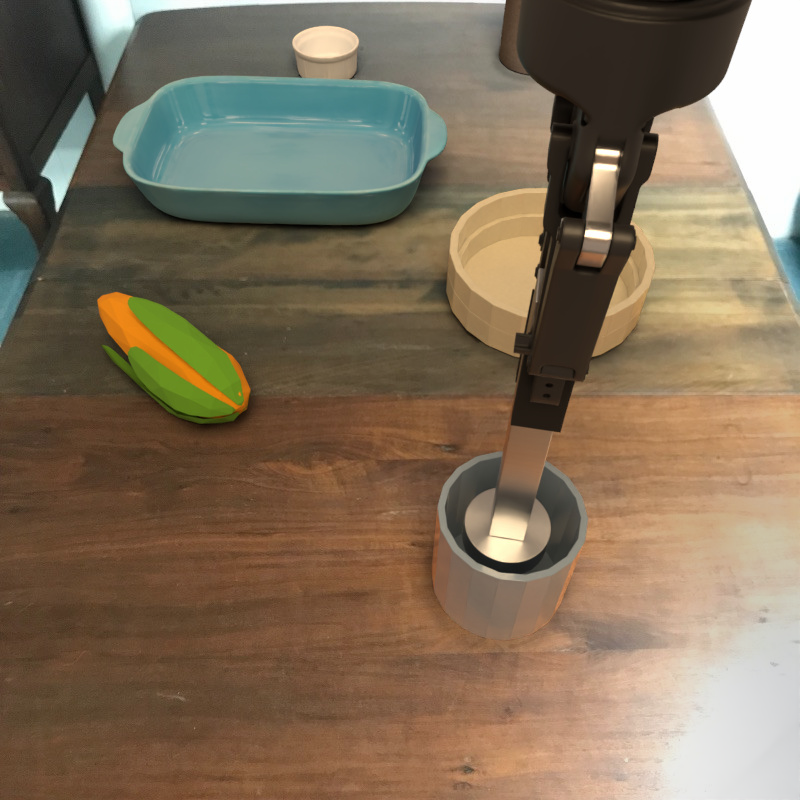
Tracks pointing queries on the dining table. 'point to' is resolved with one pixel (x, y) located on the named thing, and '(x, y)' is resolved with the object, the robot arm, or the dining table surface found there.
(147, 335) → the corn
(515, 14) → the pillar candle
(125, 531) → the dining table surface
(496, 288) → the bowl
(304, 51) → the ramekin
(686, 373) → the dining table surface
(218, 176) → the casserole dish
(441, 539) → the crock
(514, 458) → the silver disc tamper
